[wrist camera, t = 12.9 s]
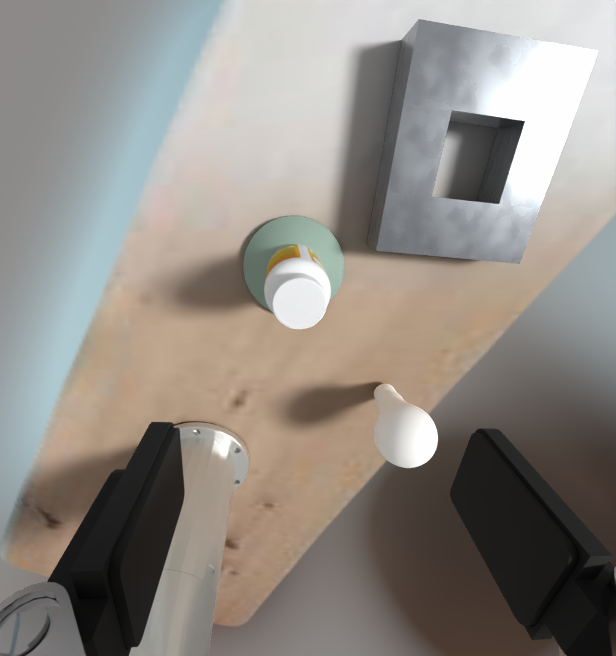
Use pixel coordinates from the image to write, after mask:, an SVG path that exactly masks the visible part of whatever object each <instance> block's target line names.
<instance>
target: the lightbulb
mask: <svg viewBox="0 0 616 656" xmlns="http://www.w3.org/2000/svg"><path fill="white" fill-rule="evenodd" d="M374 397H375V400H376V408H377V411H378V416H377V419H376V423H375V426H374V440H375V443H376V446H377V448H378V450H379V451H380V453H381V454H382V455H383V456H384V457H385V458H386V459H387V460H388V461H389V462H391V463H393V464H395V465H397V466H400V467H404V468H413V467H417V466H420V465H422V464H424V463H426V462H427V461H428V460H429V459H430V458H431V457H432V456H433V454H434V452H435V450H436V447H437V442H438V437H437V430H436V427H435V424H434V422H433V420H432V419H431V418H430V416H429V415H428V414H427V413H426V412H425V411H423V410H422V409H421V408H419V407H417V406H414V405H412V404H409V403H407V402H405V401H404V400H403V398H402V397H401V395H399V394H398V393H397V392H396V391H395V389H394V388H393V387H392V386H391V385H390V384H381V385H379V386H377V387H376V389H375V390H374Z"/></svg>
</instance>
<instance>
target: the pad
mask: <svg viewBox="0 0 616 656" xmlns="http://www.w3.org/2000/svg"><path fill="white" fill-rule="evenodd" d="M289 244H301V245H304V246H306V247H308V248H310V249H311V250H313V251H314V252H315V254H316V255H317V256H318V258H319V259H320V261H321V264H322V266H323V267H324V270H325V272H326V274H327V276H328V278H329V282H330V287H331V295H330V300H331V299H332V298H333V297H334V296H335V294H336V293H337V291H338V289H339V287H340V285H341V282H342V279H343V274H344V259H343V254H342V250H341V248H340V245H339V243H338V241H337V240H336V238H335V237H334V236H333V234H332V233H331V232H330V231H329V230H328V229H327V228H326V227H324V226H323V225H322V224H320V223H319V222H317V221H315V220H313V219H310V218H307V217H302V216H284V217H281V218H277V219H275V220H272V221H270V222H268V223H267V224H265V225H264V226H263V227H261V228H260V229H259V230H258V231H257V232H256V233H255V234H254V236H253V237H252V239H251V240H250V242H249V244H248V246H247V249H246V251H245V255H244V261H243V272H244V278H245V281H246V284H247V286H248V289H249V291H250V292H251V294H252V295H253V297H254V298H255V299H256V300H257V301H258V302H259V303H260V304H261V305H262V306H264V307H265V308H267V309H268V310H270V308H269V307H268V305H267V303H266V300H265V294H264V285H265V278H266V272H267V266H268V263H269V260H270V258H271V256H272V255H273V254H274V252H275V251H277V250H278V249H279V248H281V247H283V246H285V245H289ZM330 300H329V301H330ZM270 311H271V310H270Z"/></svg>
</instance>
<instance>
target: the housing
mask: <svg viewBox="0 0 616 656" xmlns="http://www.w3.org/2000/svg"><path fill="white" fill-rule="evenodd" d="M597 53H598V51H596V50H590V49H584V48H579V47H573V46H567V45H562V44H556V43H550V42H545V41H539V40H534V39H528V38H522V37H517V36H511V35H505V34H500V33H494V32H488V31H483V30H477V29H471V28H466V27H460V26H454V25H449V24H443V23H438V22H432V21H426V20H421V19H419V20H418V21H417V22H416V23H415V25H414V26H413V27H412V28H411V29H410V31H409V32H408V33H407V34H406V35H405V36H404V38H403V39H402V41H401V47H400V53H399V59H398V64H397V70H396V76H395V82H394V88H393V94H392V99H391V105H390V111H389V117H388V123H387V128H386V134H385V140H384V146H383V152H382V158H381V163H380V169H379V175H378V181H377V187H376V193H375V198H374V204H373V210H372V216H371V222H370V227H369V233H368V239H367V245H369V246H370V247H372V248H373V249H374V250H376V251H384V252H395V253H406V254H417V255H429V256H440V257H451V258H462V259H473V260H484V261H495V262H506V263H517V264H520V261H521V258H522V256H523V253H524V250H525V248H526V245H527V242H528V239H529V237H530V234H531V231H532V229H533V226H534V223H535V220H536V218H537V215H538V212H539V210H540V207H541V204H542V202H543V199H544V196H545V193H546V191H547V188H548V185H549V183H550V180H551V177H552V174H553V172H554V169H555V166H556V164H557V161H558V158H559V156H560V153H561V150H562V147H563V145H564V142H565V139H566V137H567V134H568V131H569V128H570V126H571V123H572V120H573V118H574V115H575V112H576V109H577V107H578V104H579V101H580V99H581V96H582V93H583V91H584V88H585V85H586V82H587V80H588V77H589V74H590V72H591V69H592V66H593V63H594V61H595V58H596V55H597ZM449 121H453V122H460V123H468V124H475V125H482V126H489V127H496V128H498V131H497V134H496V138H495V141H494V144H493V148H492V151H491V155H490V158H489V162H488V165H487V168H486V172H485V175H484V179H483V182H482V186H481V189H480V192H479V196H478V199H477V202H475V201H466V200H457V199H448V198H439V197H431V196H432V192H433V188H434V184H435V180H436V175H437V171H438V167H439V163H440V159H441V154H442V150H443V146H444V142H445V138H446V133H447V129H448V125H449Z"/></svg>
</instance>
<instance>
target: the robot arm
mask: <svg viewBox="0 0 616 656" xmlns="http://www.w3.org/2000/svg"><path fill="white" fill-rule="evenodd" d="M248 469H249V454H248V450H247V448H246V446H245V444H244V443H243V442H242V441H241V440H240V438H239V437H237V436H236V435H235V434H234V433H232V432H231V431H229V430H227V429H225V428H223V427H220V426H218V425H214V424H210V423H202V422H191V423H183V424H179V425H176V426H173V423H171V422H152V423H151V424H150V425H149V427H148V429H147V430H146V432H145V434H144V436H143V438H142V440H141V441H140V443H139V445H138V447H137V449H136V451H135V452H134V454H133V456H132V458H131V460H130V462H129V463H128V465H127V467H126V469H125V470H115V471H113V472H112V473H111V474H110V476H109V477H108V479H107V481H106V482H105V484H104V486H103V487H102V489H101V491H100V492H99V494H98V496H97V498H96V499H95V501H94V503H93V504H92V506H91V508H90V510H89V511H88V513H87V515H86V516H85V518H84V520H83V521H82V523H81V525H80V527H79V528H78V530H77V532H76V533H75V535H74V537H73V539H72V540H71V542H70V544H69V545H68V547H67V549H66V550H65V552H64V554H63V556H62V557H61V559H60V561H59V562H58V564H57V566H56V568H55V569H54V571H53V573H52V574H51V576H50V578H49V579H48V581H47V582H42V583H37V584H33V585H30V586H28V587H26V588H24V589H22V590H19V591H17V592H16V593H14V594H13V595H11V596H10V597H8V598H7V599H5V600H4V601H3V602H1V603H0V656H208V653H209V646H210V638H211V631H212V625H213V618H214V611H215V605H216V597H217V591H218V584H219V578H220V571H221V565H222V558H223V552H224V545H225V539H226V532H227V526H228V519H229V513H230V507H231V500H232V494H233V491H234V490H236V489H237V488H238V487H239V486H240V485H241V484H242V483H243V481H244V480H245V478H246V476H247V474H248ZM450 496H451V500H452V502H453V504H454V506H455V508H456V510H457V512H458V514H459V515H460V517H461V519H462V521H463V523H464V524H465V526H466V528H467V530H468V532H469V534H470V535H471V537H472V539H473V541H474V543H475V545H476V546H477V548H478V550H479V552H480V554H481V556H482V557H483V559H484V561H485V563H486V565H487V566H488V568H489V570H490V572H491V574H492V576H493V578H494V579H495V581H496V583H497V585H498V587H499V588H500V590H501V592H502V594H503V596H504V598H505V599H506V601H507V603H508V605H509V607H510V609H511V610H512V612H513V614H514V616H515V618H516V619H517V620H518V622H519V623H520V624H522V625H524V626H525V628H526V630H527V632H528V634H529V635H530V637H531V639H532V640H538V639H551V638H552V636H554V637H555V639H556V641H557V643H558V644H559V646H560V656H616V567H615V568H614V566H613V565H612V564H611V563H610V562H609V560H610V559H611V557H612V554H611V553H610V552H609V551H608V550H607V549H606V548H605V547H604V546H603V544H602V543H601V542H600V541H599V540H598V539H597V538H596V537H595V536H594V534H593V533H592V532H591V531H590V530H589V529H588V528H587V527H586V526H585V525H584V523H583V522H582V521H581V520H580V519H579V518H578V517H577V516H576V514H575V513H574V512H573V511H572V510H571V509H570V508H569V507H568V506H567V505H566V503H565V502H564V501H563V500H562V499H561V498H560V497H559V496H558V495H557V493H556V492H555V491H554V490H553V489H552V488H551V487H550V486H549V485H548V484H547V482H546V481H545V480H544V479H543V478H542V477H541V476H540V475H539V474H538V472H537V471H536V470H535V469H534V468H533V467H532V466H531V465H530V463H529V462H528V461H527V460H526V459H525V458H524V457H523V456H522V455H521V453H520V452H519V451H518V450H517V449H516V448H515V447H514V446H513V445H512V443H511V442H510V441H509V440H508V439H507V438H506V437H505V436H504V435H503V433H502V432H501V431H499V430H498V429H478V430H477V431H476V432H475V433H473V434H472V435H471V438H470V440H469V443H468V445H467V448H466V451H465V453H464V456H463V459H462V461H461V464H460V467H459V469H458V472H457V475H456V477H455V480H454V482H453V485H452V488H451V491H450Z"/></svg>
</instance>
